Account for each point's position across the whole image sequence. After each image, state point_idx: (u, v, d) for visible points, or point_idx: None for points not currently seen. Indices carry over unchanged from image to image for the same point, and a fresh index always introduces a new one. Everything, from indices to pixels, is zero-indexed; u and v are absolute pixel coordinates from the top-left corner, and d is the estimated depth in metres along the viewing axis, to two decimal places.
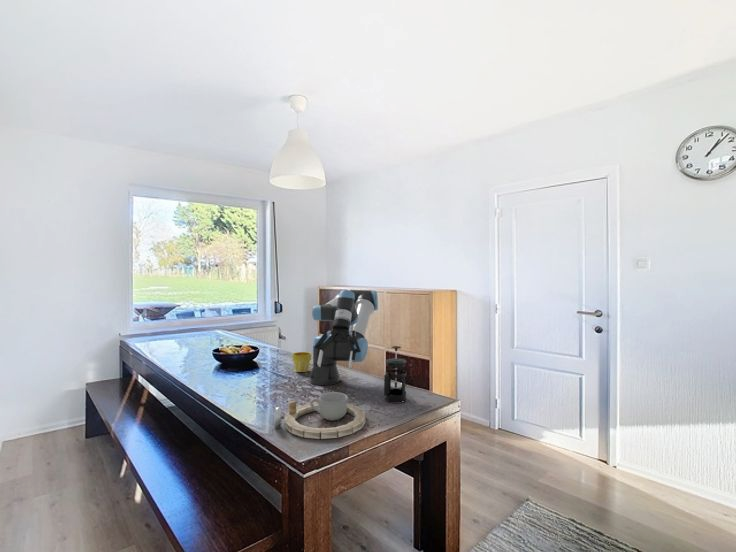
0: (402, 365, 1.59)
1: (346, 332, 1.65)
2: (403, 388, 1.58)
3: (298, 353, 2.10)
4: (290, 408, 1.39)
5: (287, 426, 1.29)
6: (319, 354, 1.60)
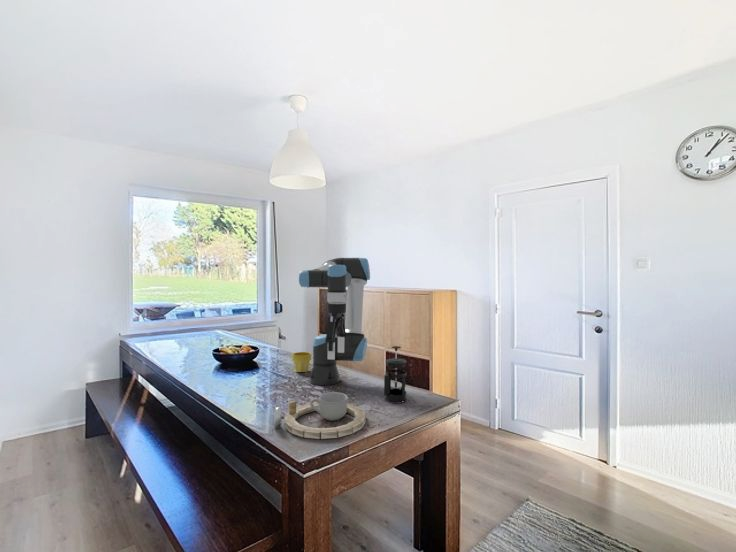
0: (402, 365, 1.59)
1: (341, 317, 1.54)
2: (403, 388, 1.58)
3: (298, 353, 2.10)
4: (290, 408, 1.39)
5: (287, 426, 1.29)
6: (334, 348, 1.44)
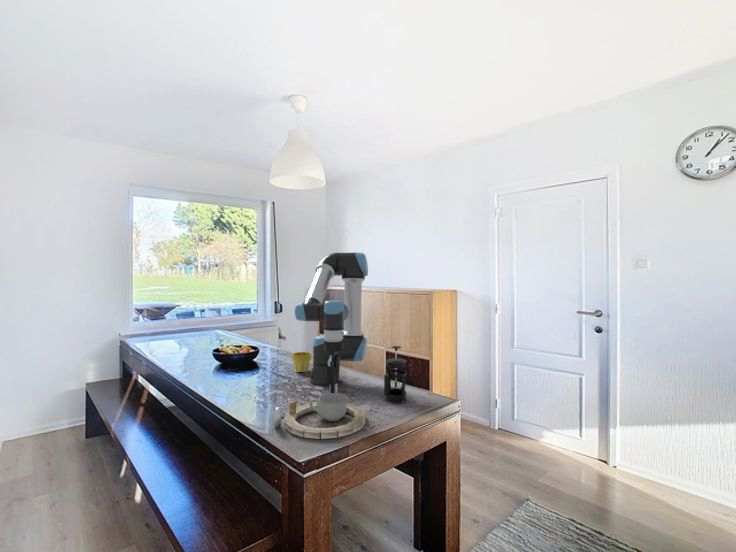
0: (402, 365, 1.59)
1: (338, 353, 1.50)
2: (403, 388, 1.58)
3: (298, 353, 2.10)
4: (290, 408, 1.39)
5: (287, 426, 1.29)
6: (336, 390, 1.46)
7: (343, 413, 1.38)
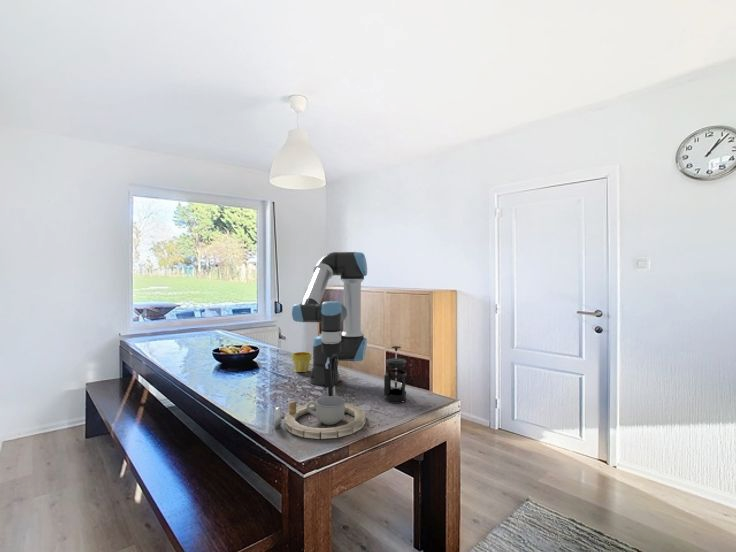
0: (402, 365, 1.59)
1: (336, 355, 1.46)
2: (403, 388, 1.58)
3: (298, 353, 2.10)
4: (290, 408, 1.39)
5: (287, 426, 1.29)
6: (334, 392, 1.43)
7: (341, 416, 1.35)
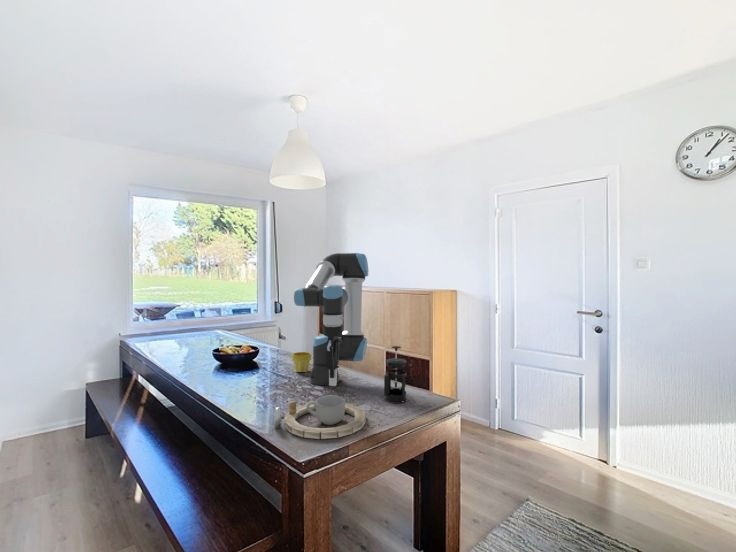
0: (402, 365, 1.59)
1: (337, 338, 1.49)
2: (403, 388, 1.58)
3: (298, 353, 2.10)
4: (290, 408, 1.39)
5: (287, 426, 1.29)
6: (335, 374, 1.46)
7: (341, 417, 1.35)
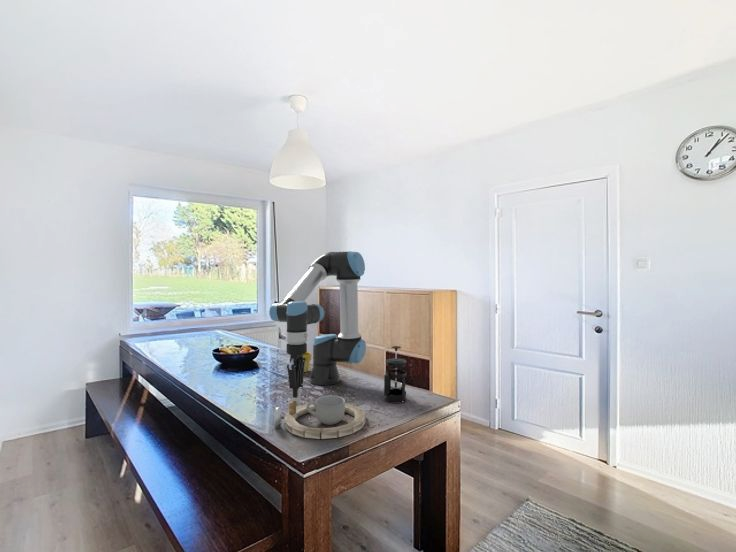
0: (402, 365, 1.59)
1: (302, 356, 1.44)
2: (403, 388, 1.58)
3: None
4: (290, 408, 1.39)
5: (287, 426, 1.29)
6: (299, 394, 1.41)
7: (341, 416, 1.35)
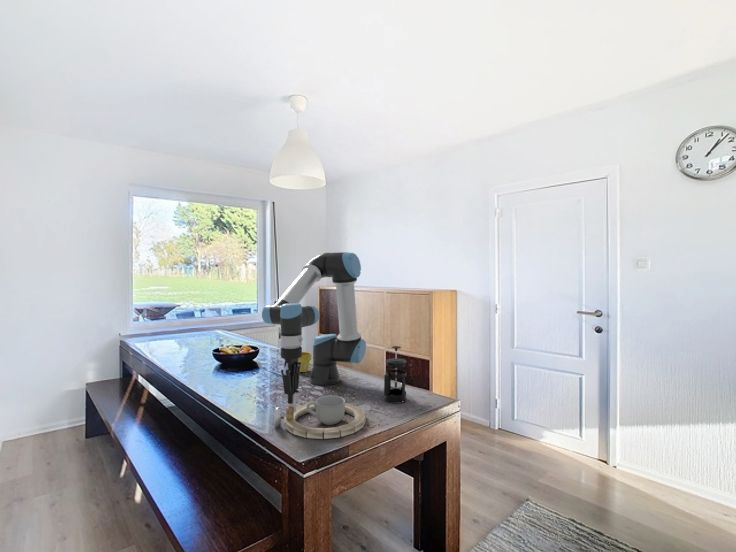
0: (402, 365, 1.59)
1: (297, 360, 1.38)
2: (403, 388, 1.58)
3: None
4: (289, 414, 1.33)
5: (298, 432, 1.25)
6: (294, 400, 1.35)
7: (341, 417, 1.35)
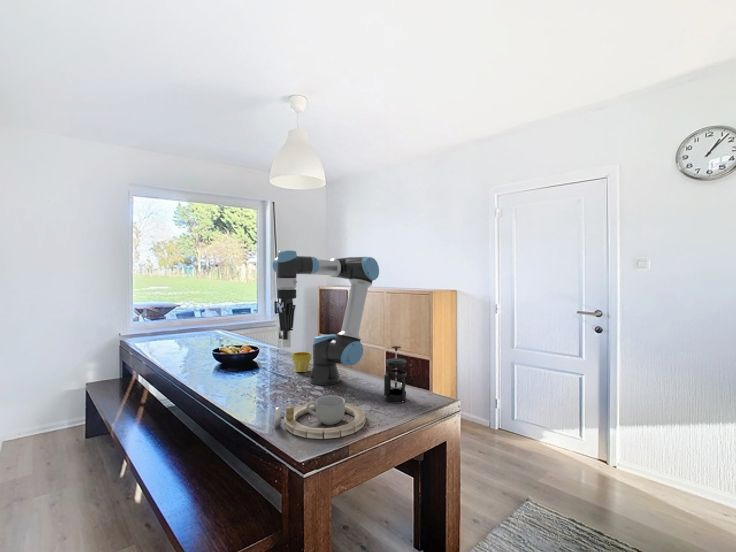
0: (402, 365, 1.59)
1: (292, 302, 1.54)
2: (403, 388, 1.58)
3: (298, 353, 2.10)
4: (289, 414, 1.33)
5: (298, 432, 1.25)
6: (289, 336, 1.51)
7: (341, 416, 1.35)
